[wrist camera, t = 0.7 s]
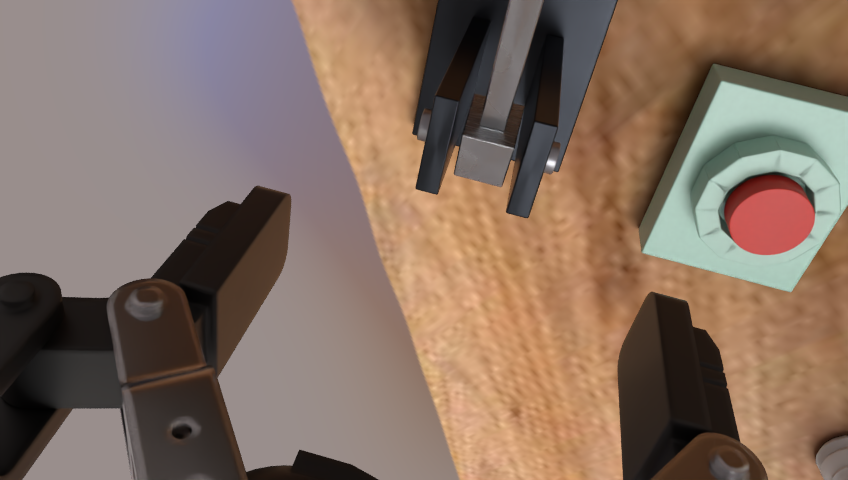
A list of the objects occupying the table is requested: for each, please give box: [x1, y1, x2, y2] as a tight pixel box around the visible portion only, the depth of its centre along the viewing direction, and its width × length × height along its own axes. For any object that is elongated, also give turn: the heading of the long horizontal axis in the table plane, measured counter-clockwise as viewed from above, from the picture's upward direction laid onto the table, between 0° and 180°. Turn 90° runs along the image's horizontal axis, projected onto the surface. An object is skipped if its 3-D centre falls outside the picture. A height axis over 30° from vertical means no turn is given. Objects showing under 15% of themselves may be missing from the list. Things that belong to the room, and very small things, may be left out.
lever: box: [454, 0, 544, 187], centre depth 25 cm, size 12×5×2 cm, turn 169°
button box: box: [639, 64, 848, 292], centre depth 37 cm, size 11×9×4 cm
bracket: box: [412, 0, 618, 218], centre depth 33 cm, size 11×9×13 cm
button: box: [724, 175, 815, 255], centre depth 35 cm, size 4×4×2 cm
